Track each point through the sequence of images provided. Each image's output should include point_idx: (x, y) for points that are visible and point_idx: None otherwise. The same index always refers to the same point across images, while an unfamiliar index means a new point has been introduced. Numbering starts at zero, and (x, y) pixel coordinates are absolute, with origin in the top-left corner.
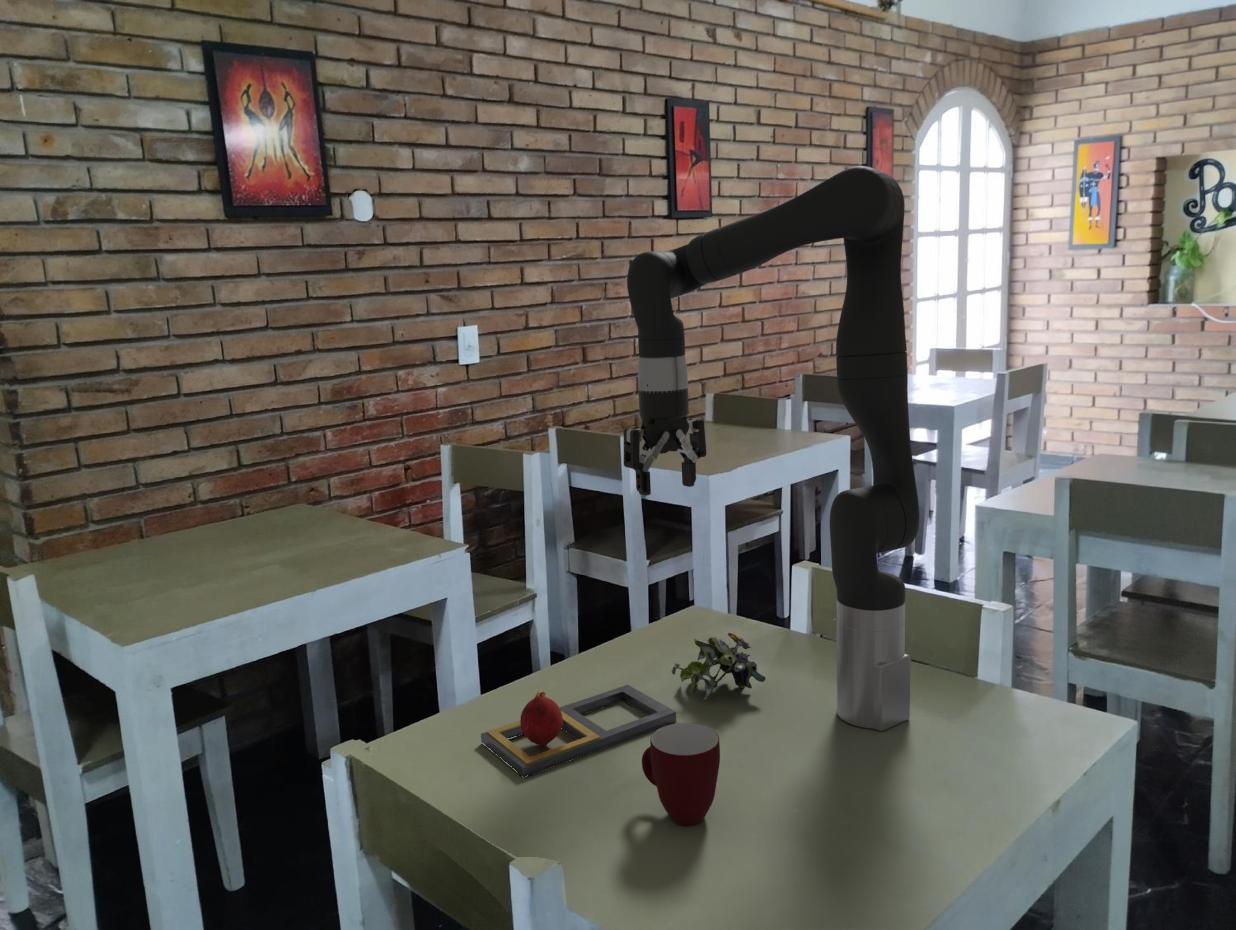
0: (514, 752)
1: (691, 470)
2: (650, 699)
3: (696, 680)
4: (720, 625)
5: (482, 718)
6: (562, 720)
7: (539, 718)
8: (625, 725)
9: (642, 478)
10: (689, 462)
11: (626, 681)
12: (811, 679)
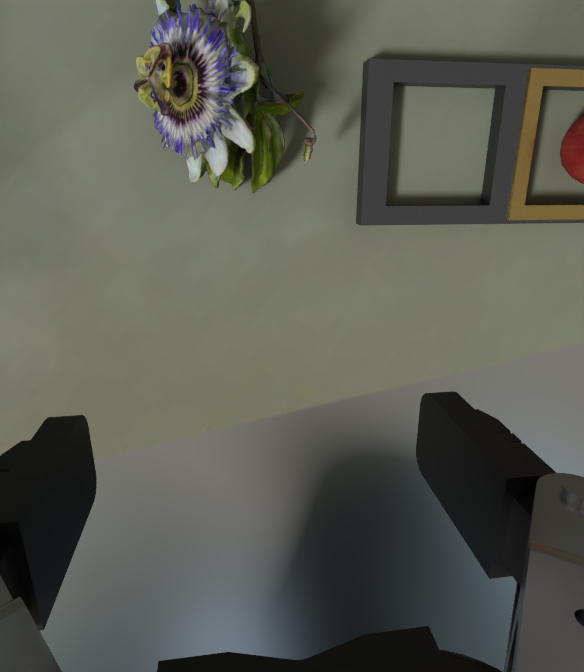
0: None
1: (32, 479)
2: (370, 140)
3: (290, 94)
4: (14, 379)
5: (570, 296)
6: (580, 122)
7: None
8: (470, 78)
9: (533, 460)
10: (7, 552)
11: (326, 270)
12: (10, 14)
